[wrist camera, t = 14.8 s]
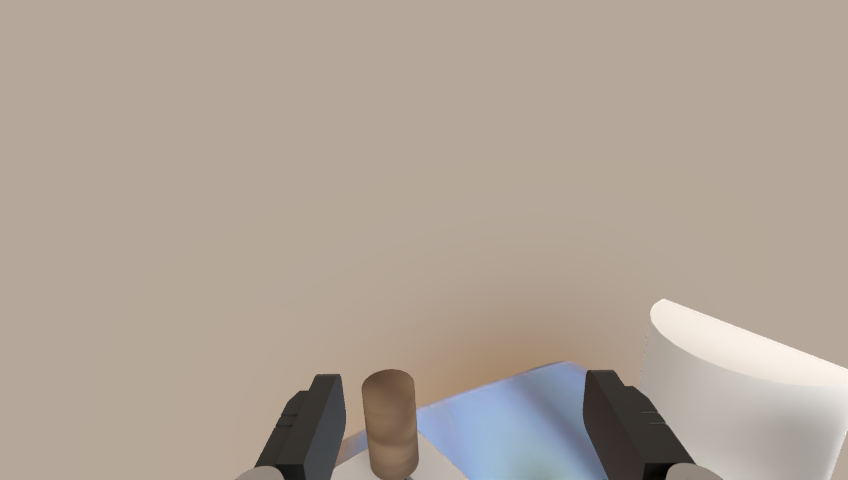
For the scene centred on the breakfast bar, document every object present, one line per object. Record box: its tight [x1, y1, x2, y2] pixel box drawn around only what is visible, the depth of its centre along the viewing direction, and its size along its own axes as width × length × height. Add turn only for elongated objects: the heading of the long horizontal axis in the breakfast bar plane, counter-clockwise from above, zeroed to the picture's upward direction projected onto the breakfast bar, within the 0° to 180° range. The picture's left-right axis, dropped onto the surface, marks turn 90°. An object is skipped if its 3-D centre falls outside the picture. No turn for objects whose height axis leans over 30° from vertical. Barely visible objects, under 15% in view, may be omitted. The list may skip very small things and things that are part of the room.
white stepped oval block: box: [639, 299, 848, 480], centre depth 45 cm, size 17×17×28 cm
